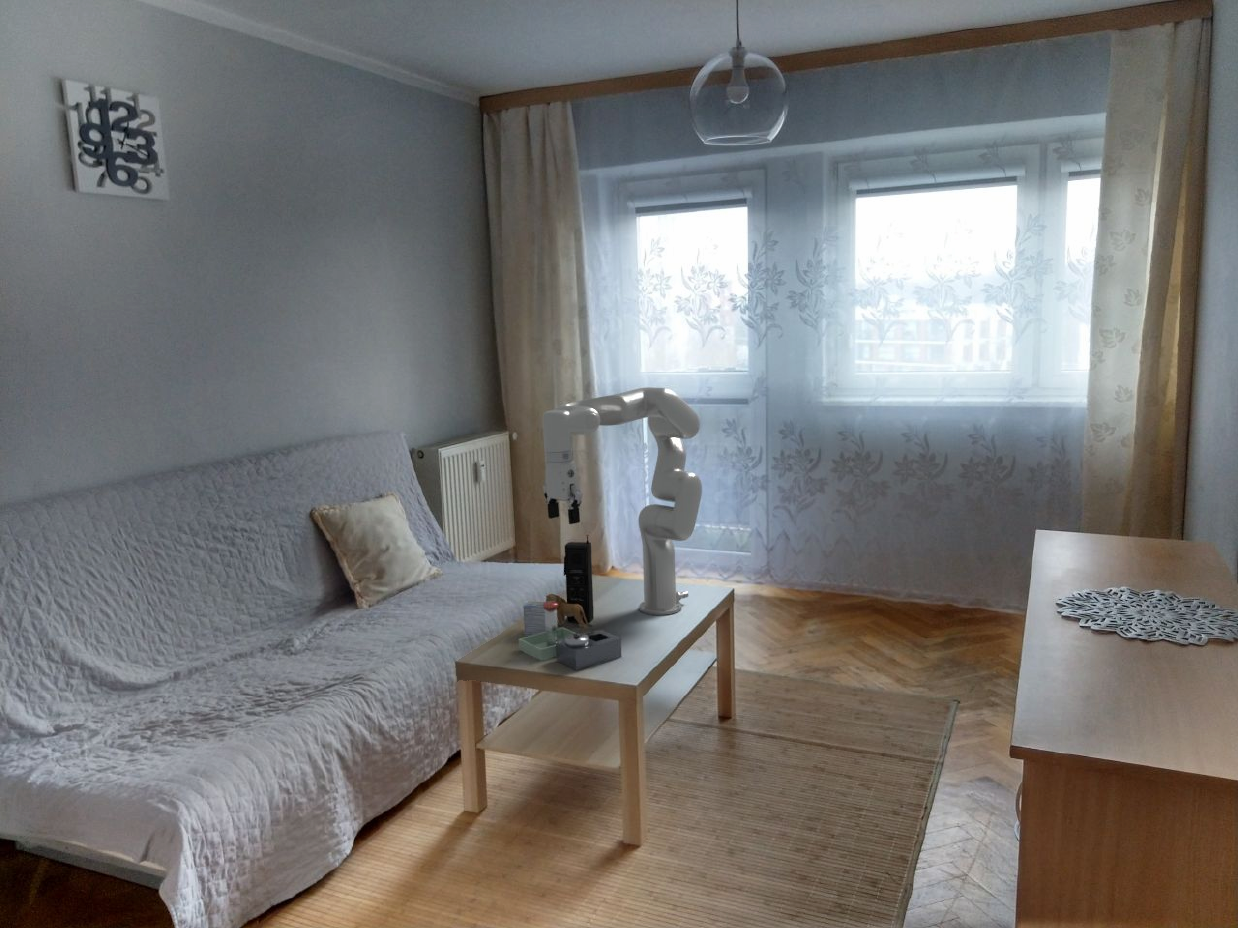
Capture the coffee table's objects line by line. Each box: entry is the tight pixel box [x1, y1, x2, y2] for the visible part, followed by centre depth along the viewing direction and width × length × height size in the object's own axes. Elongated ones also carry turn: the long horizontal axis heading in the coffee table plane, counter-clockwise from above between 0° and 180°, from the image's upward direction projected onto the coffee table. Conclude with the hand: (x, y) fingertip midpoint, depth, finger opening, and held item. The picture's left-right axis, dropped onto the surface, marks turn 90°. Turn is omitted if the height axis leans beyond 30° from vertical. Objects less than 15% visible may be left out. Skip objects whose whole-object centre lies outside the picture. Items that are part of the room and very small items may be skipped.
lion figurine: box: [545, 593, 594, 631], centre depth 259 cm, size 15×5×9 cm, turn 67°
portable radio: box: [563, 534, 595, 624], centre depth 263 cm, size 8×6×25 cm
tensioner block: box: [555, 629, 622, 671], centre depth 232 cm, size 14×9×7 cm, turn 127°
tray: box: [518, 627, 577, 662], centre depth 241 cm, size 14×11×3 cm
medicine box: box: [522, 601, 546, 637], centre depth 253 cm, size 8×4×9 cm, turn 74°
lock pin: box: [543, 601, 559, 647], centre depth 240 cm, size 4×4×12 cm
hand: (564, 520), depth 242 cm, fingers open, 9 cm apart
